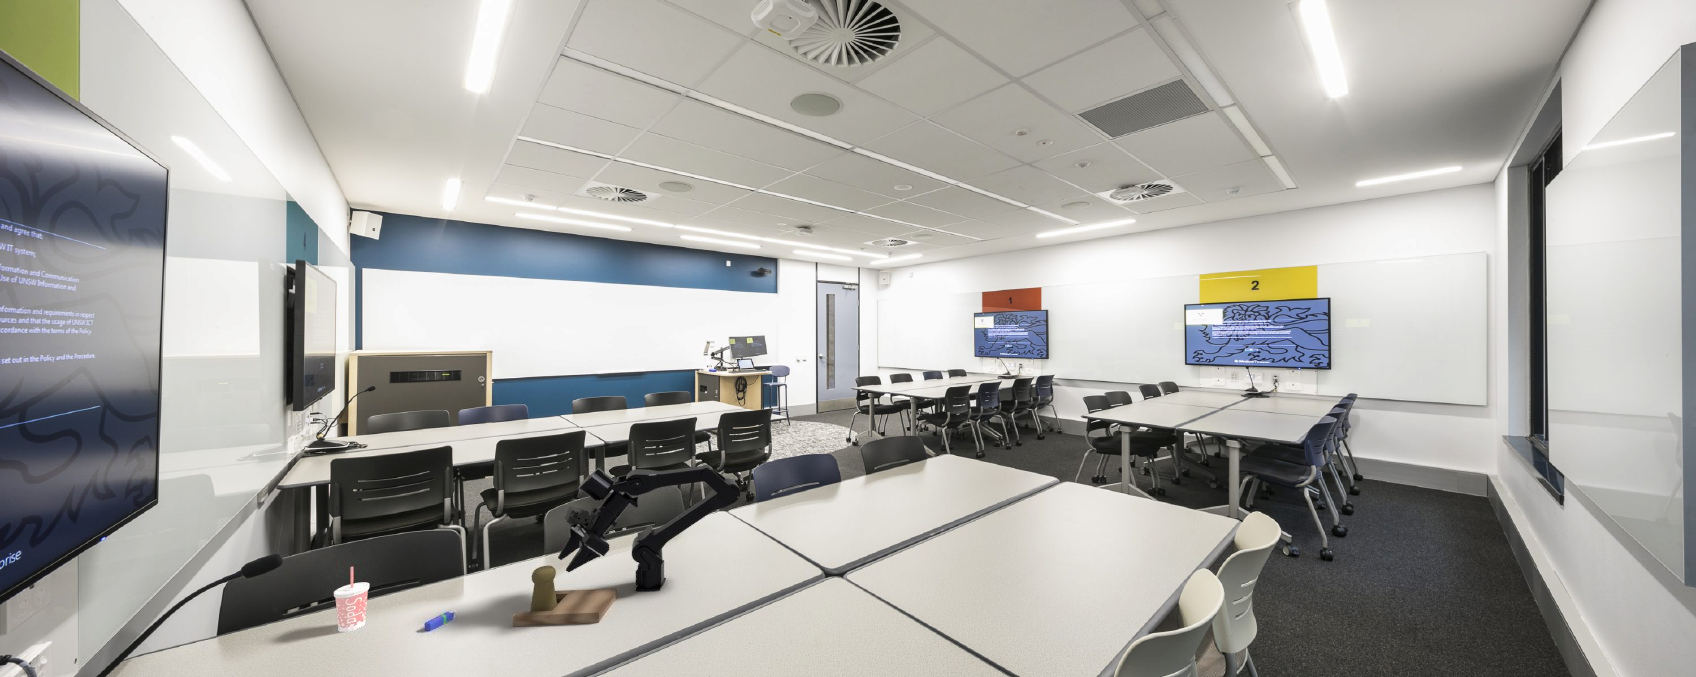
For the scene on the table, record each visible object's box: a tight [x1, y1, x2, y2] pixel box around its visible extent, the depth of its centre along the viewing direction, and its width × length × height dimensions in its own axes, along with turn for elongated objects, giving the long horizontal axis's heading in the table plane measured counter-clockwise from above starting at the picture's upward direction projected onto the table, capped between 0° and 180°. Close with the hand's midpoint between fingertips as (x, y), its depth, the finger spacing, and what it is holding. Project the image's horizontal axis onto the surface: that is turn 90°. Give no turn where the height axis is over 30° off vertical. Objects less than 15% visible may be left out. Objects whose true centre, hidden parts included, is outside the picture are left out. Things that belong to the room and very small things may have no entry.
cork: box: [529, 565, 558, 612], centre depth 129 cm, size 6×6×11 cm
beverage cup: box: [333, 566, 370, 633], centre depth 123 cm, size 6×6×14 cm
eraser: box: [423, 609, 457, 632], centre depth 124 cm, size 2×6×2 cm, turn 163°
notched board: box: [512, 588, 618, 627], centre depth 130 cm, size 20×12×2 cm, turn 95°
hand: (563, 564), depth 132 cm, fingers open, 9 cm apart
